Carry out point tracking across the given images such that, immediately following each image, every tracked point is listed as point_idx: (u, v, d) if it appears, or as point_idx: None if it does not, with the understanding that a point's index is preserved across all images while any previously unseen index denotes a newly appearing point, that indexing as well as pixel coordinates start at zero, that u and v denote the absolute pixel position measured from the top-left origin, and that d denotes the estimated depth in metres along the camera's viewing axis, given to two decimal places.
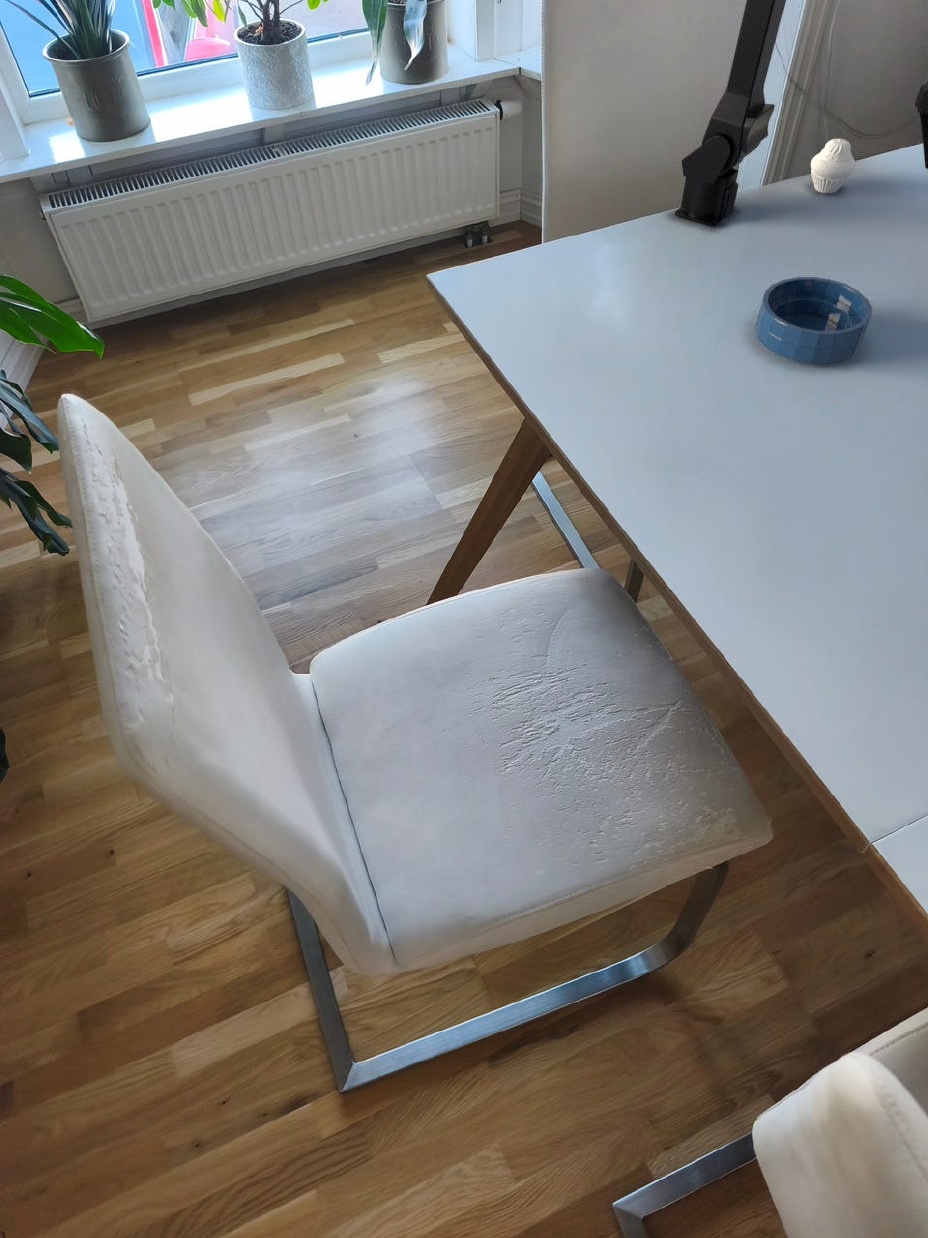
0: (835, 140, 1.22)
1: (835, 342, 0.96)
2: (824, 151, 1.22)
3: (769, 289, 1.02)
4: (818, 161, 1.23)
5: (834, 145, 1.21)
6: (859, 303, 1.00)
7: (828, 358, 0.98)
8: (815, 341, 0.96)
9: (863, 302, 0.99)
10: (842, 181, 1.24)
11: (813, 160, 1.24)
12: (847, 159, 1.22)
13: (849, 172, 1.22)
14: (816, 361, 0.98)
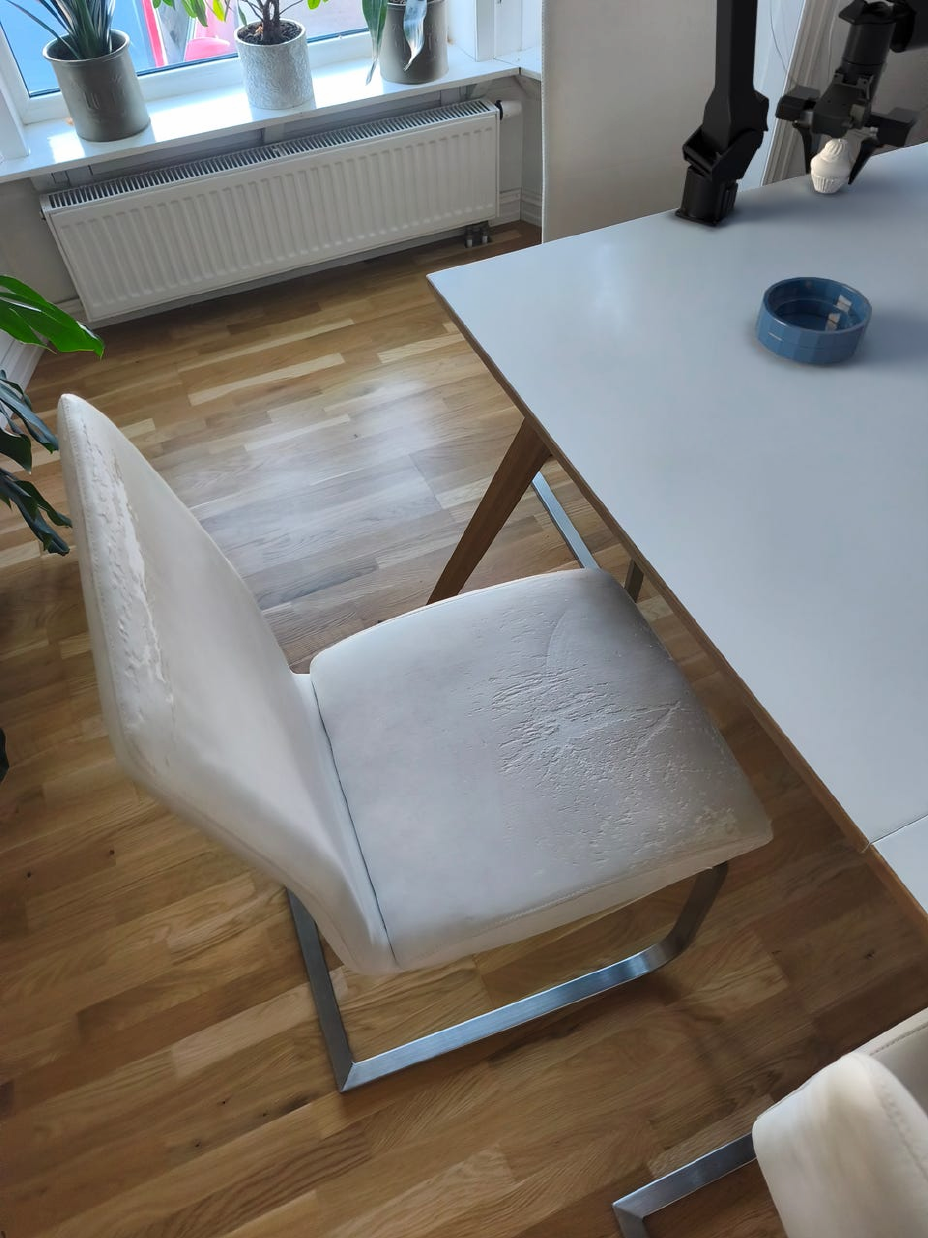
0: (835, 140, 1.22)
1: (835, 342, 0.96)
2: (824, 151, 1.22)
3: (769, 289, 1.02)
4: (818, 161, 1.23)
5: (834, 145, 1.21)
6: (859, 303, 1.00)
7: (828, 358, 0.98)
8: (815, 341, 0.96)
9: (863, 302, 0.99)
10: (842, 181, 1.24)
11: (813, 160, 1.24)
12: (847, 159, 1.22)
13: (849, 172, 1.22)
14: (816, 361, 0.98)
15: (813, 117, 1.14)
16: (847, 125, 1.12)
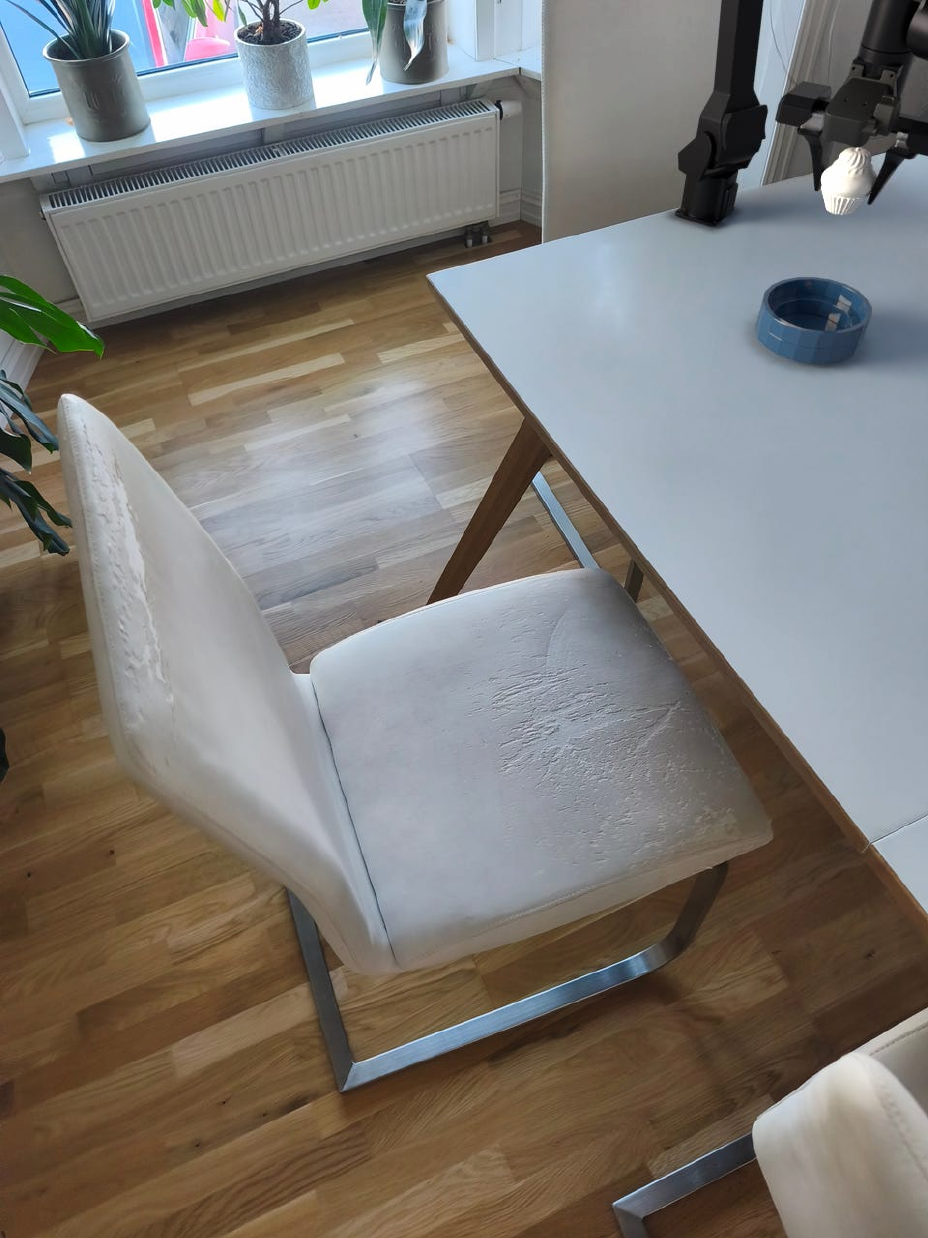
0: (852, 148, 0.97)
1: (835, 342, 0.96)
2: (838, 163, 0.97)
3: (769, 289, 1.02)
4: (830, 175, 0.98)
5: (850, 155, 0.96)
6: (859, 303, 1.00)
7: (828, 358, 0.98)
8: (815, 341, 0.96)
9: (863, 302, 0.99)
10: (861, 200, 0.99)
11: (824, 174, 0.99)
12: (867, 173, 0.97)
13: (870, 189, 0.97)
14: (816, 361, 0.98)
15: (825, 121, 0.89)
16: (870, 130, 0.87)
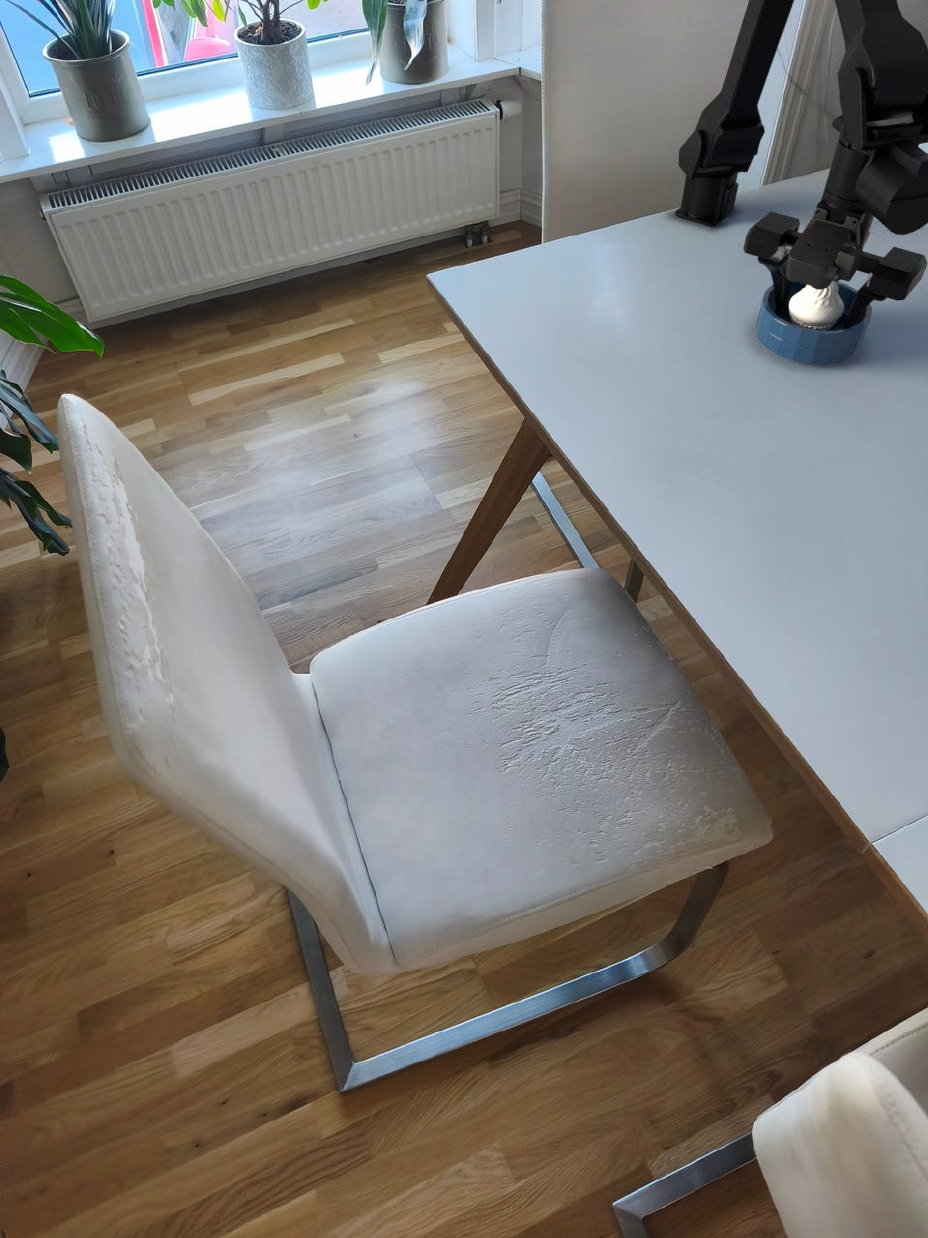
0: None
1: (835, 342, 0.96)
2: (805, 292, 0.98)
3: (769, 289, 1.02)
4: (797, 304, 0.99)
5: None
6: None
7: (828, 358, 0.98)
8: (815, 341, 0.96)
9: None
10: (828, 328, 0.99)
11: (792, 301, 0.99)
12: (833, 303, 0.97)
13: (836, 318, 0.98)
14: (816, 361, 0.98)
15: (789, 263, 0.90)
16: (832, 277, 0.88)
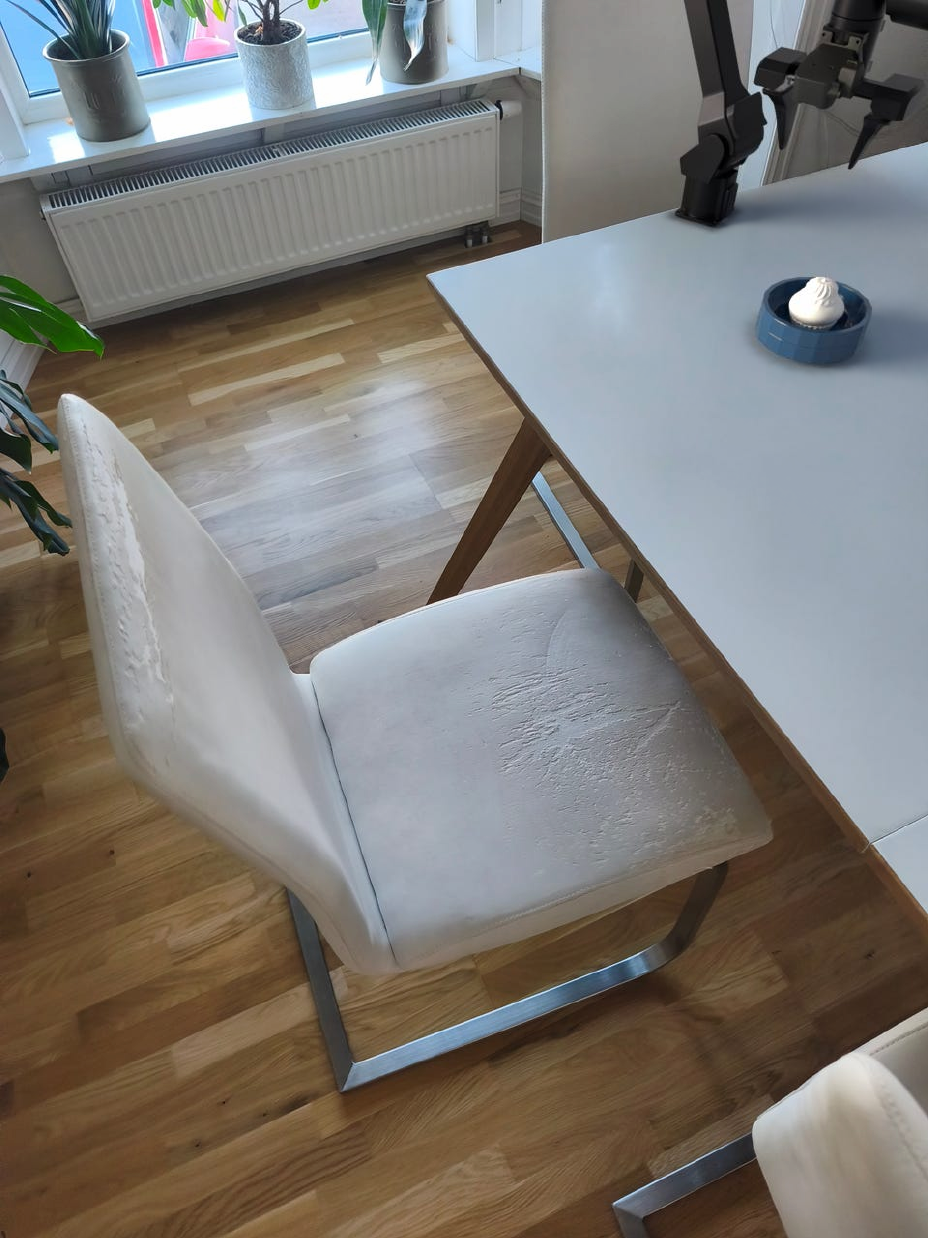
0: (819, 279, 0.97)
1: (835, 342, 0.96)
2: (805, 292, 0.98)
3: (769, 289, 1.02)
4: (797, 304, 0.99)
5: (817, 286, 0.97)
6: (859, 303, 1.00)
7: (828, 358, 0.98)
8: (815, 341, 0.96)
9: (863, 302, 0.99)
10: (828, 328, 0.99)
11: (792, 301, 0.99)
12: (833, 303, 0.97)
13: (836, 318, 0.98)
14: (816, 361, 0.98)
15: (795, 83, 0.96)
16: (834, 93, 0.94)
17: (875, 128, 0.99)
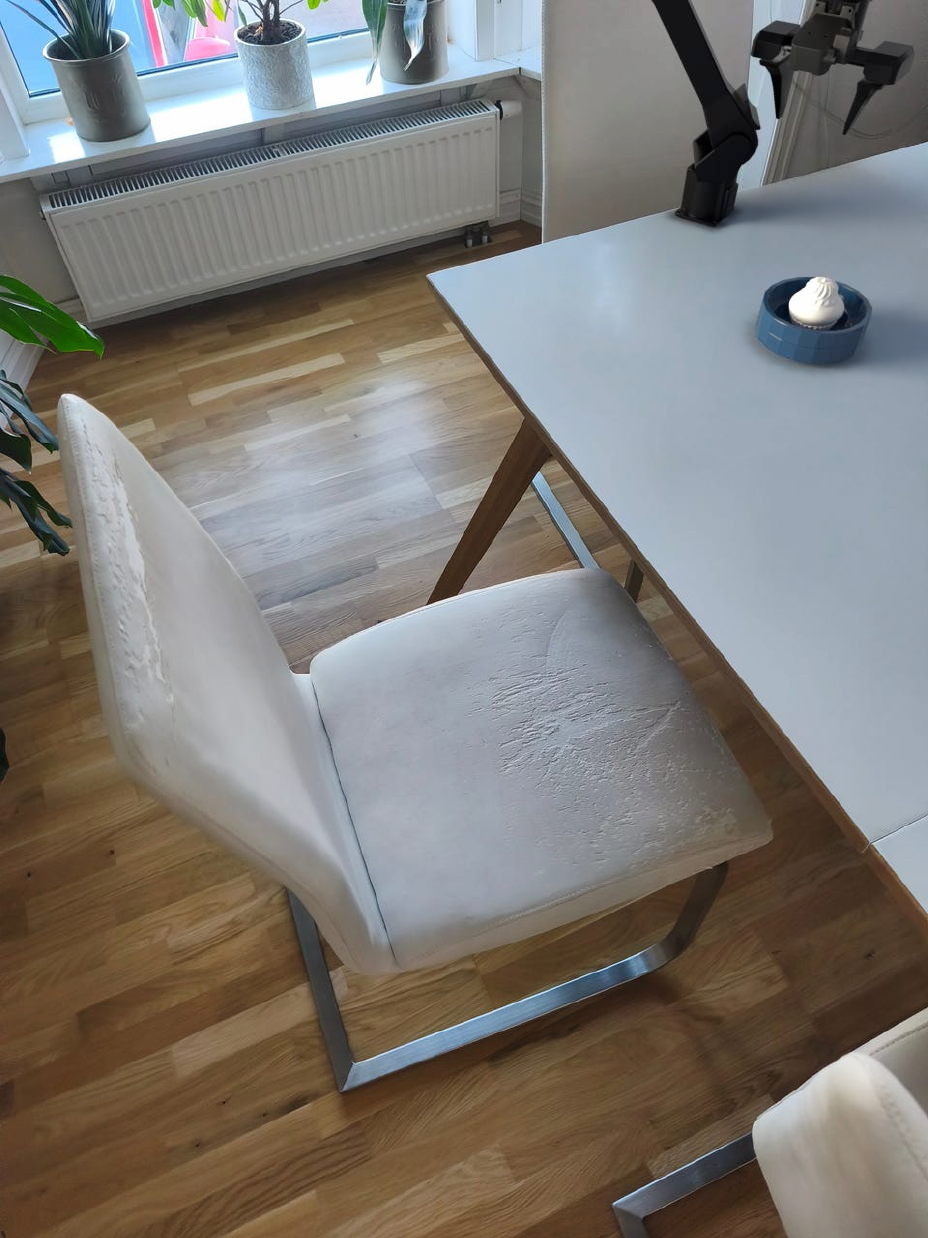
0: (819, 279, 0.97)
1: (835, 342, 0.96)
2: (805, 292, 0.98)
3: (769, 289, 1.02)
4: (797, 304, 0.99)
5: (817, 286, 0.97)
6: (859, 303, 1.00)
7: (828, 358, 0.98)
8: (815, 341, 0.96)
9: (863, 302, 0.99)
10: (828, 328, 0.99)
11: (792, 301, 0.99)
12: (833, 303, 0.97)
13: (836, 318, 0.98)
14: (816, 361, 0.98)
15: (792, 51, 1.01)
16: (830, 59, 0.99)
17: (868, 93, 1.04)
